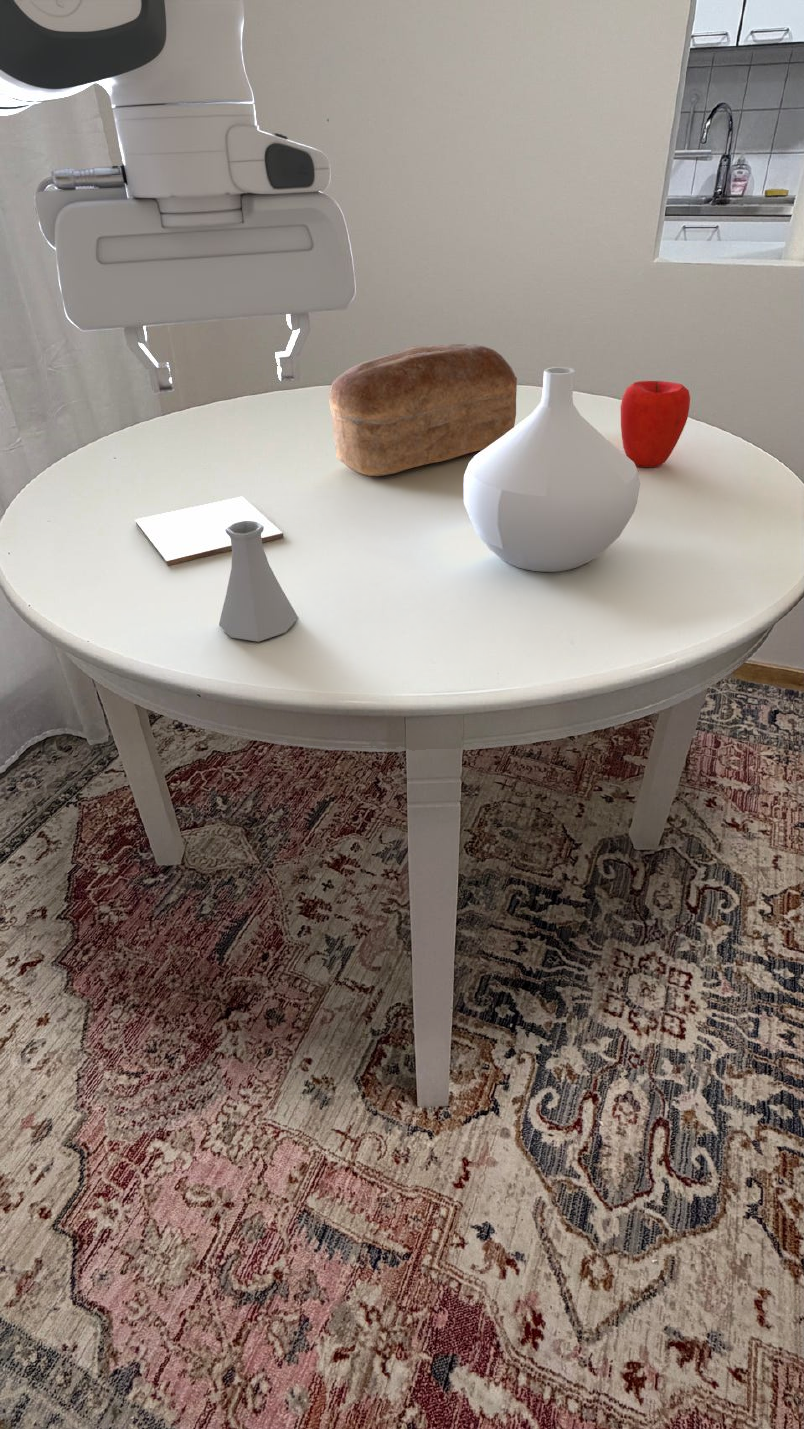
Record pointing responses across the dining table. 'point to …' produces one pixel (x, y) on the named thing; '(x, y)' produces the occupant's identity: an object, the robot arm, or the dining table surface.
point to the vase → (551, 486)
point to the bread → (421, 407)
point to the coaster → (201, 529)
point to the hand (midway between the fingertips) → (227, 384)
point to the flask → (253, 589)
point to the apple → (653, 420)
